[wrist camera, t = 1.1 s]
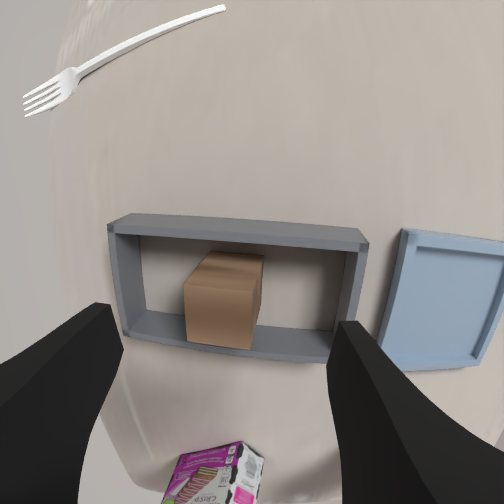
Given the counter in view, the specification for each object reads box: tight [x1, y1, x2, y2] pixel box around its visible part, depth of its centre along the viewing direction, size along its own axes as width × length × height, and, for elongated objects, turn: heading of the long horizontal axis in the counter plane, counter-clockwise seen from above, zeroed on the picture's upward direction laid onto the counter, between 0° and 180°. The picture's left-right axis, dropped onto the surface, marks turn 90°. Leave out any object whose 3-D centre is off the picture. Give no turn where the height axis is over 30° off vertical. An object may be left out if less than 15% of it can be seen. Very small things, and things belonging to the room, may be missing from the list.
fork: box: [23, 4, 226, 117], centre depth 18 cm, size 3×20×2 cm, turn 105°
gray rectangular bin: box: [107, 213, 369, 364], centre depth 21 cm, size 9×17×4 cm, turn 88°
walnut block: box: [183, 251, 264, 350], centre depth 20 cm, size 4×4×6 cm
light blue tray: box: [376, 228, 504, 371], centre depth 20 cm, size 12×12×2 cm
